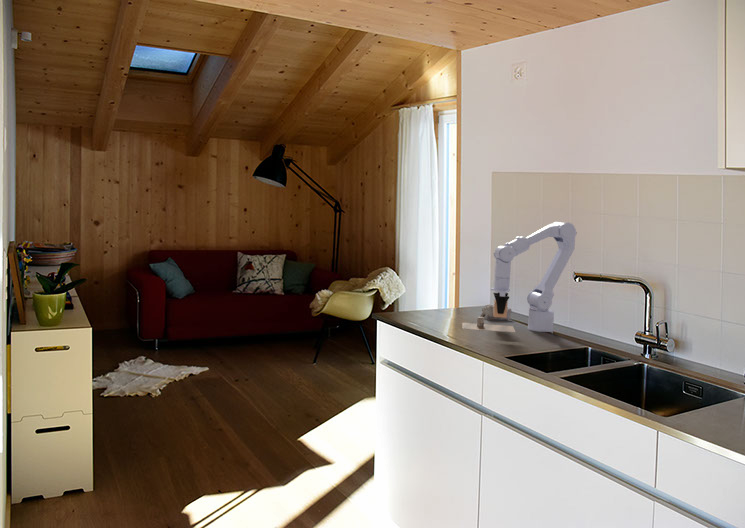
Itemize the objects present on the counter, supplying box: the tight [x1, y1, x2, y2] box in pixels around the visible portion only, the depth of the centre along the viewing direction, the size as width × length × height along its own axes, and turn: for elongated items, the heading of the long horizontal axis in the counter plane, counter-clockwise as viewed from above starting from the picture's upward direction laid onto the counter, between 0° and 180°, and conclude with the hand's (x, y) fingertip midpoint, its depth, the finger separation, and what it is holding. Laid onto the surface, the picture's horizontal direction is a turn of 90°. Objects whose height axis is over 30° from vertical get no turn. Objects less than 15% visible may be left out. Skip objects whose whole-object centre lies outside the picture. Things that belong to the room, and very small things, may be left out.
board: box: [461, 316, 516, 333], centre depth 250 cm, size 20×12×4 cm, turn 82°
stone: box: [479, 304, 513, 321], centre depth 270 cm, size 8×12×7 cm, turn 104°
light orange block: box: [493, 298, 509, 318], centre depth 247 cm, size 5×5×6 cm
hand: (500, 312), depth 247 cm, fingers closed on light orange block, 5 cm apart
